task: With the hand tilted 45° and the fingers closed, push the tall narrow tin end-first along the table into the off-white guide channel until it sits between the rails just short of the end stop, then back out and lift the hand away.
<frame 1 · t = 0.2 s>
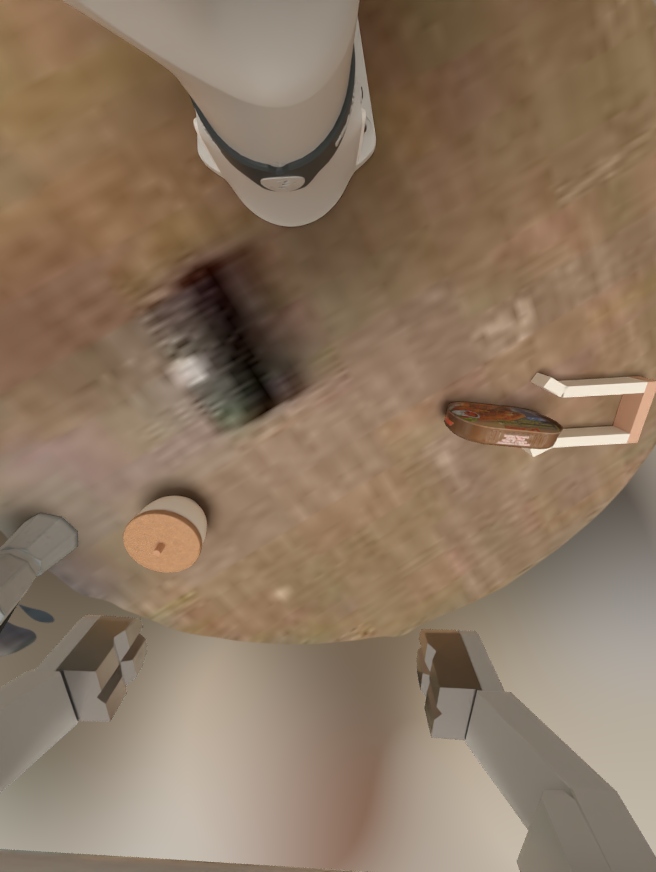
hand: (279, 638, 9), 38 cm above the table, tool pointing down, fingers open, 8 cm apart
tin: (485, 413, 48), on the table
coffee maker: (53, 538, 55), on the table
guide channel: (581, 409, 48), on the table
lidded jar: (183, 510, 54), on the table
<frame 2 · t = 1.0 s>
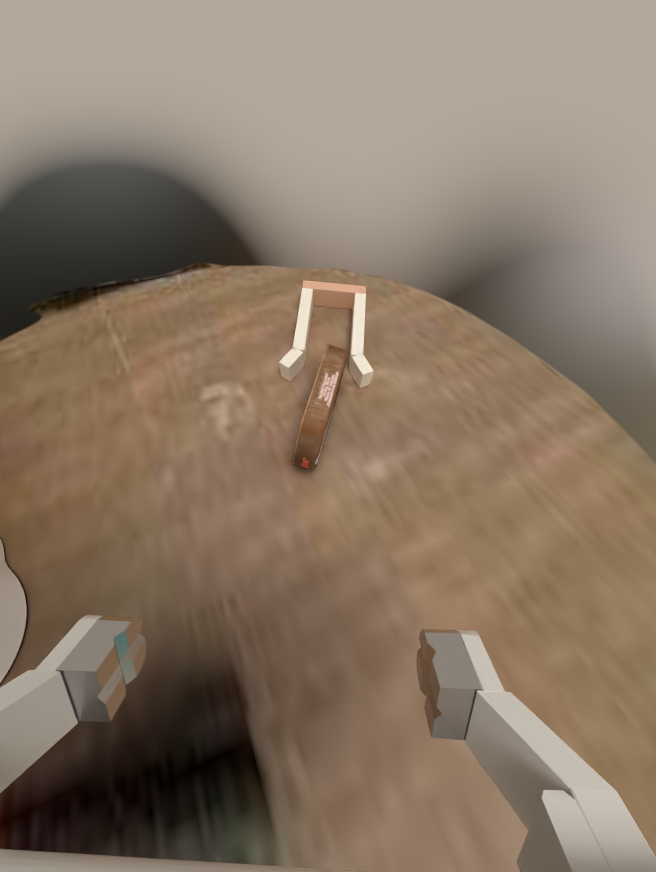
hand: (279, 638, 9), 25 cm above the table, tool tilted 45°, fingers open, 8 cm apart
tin: (321, 423, 41), on the table
guide channel: (330, 335, 46), on the table
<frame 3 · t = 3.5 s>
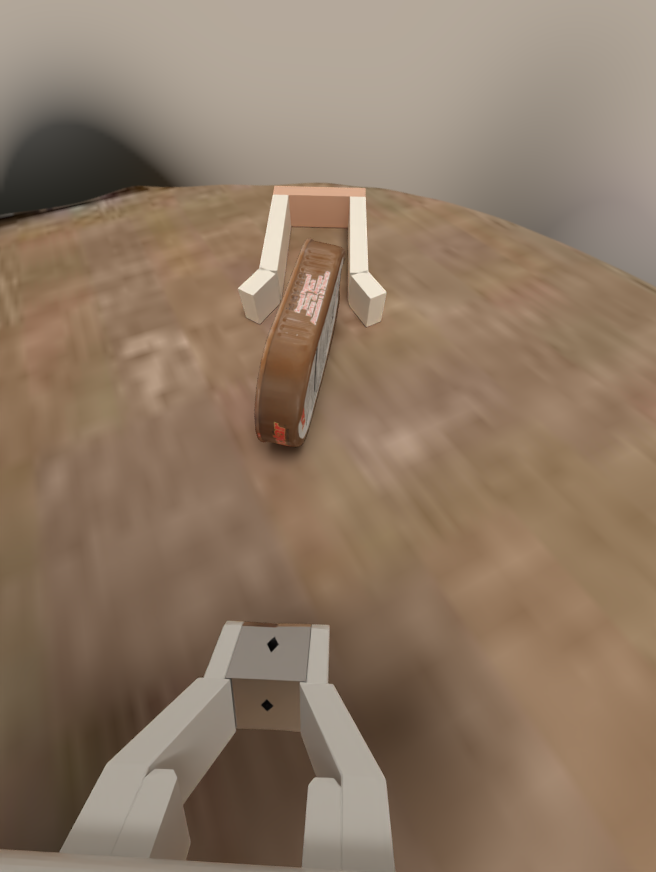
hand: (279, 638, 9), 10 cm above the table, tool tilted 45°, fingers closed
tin: (309, 380, 26), on the table
guide channel: (317, 261, 32), on the table
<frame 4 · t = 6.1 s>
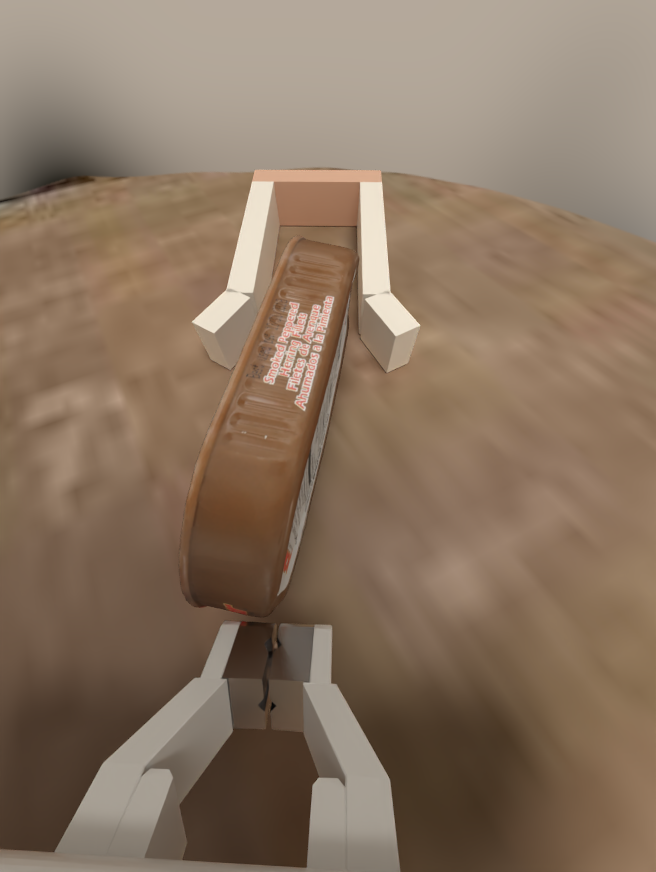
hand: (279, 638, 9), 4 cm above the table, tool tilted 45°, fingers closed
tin: (303, 451, 17), on the table, touching gripper
guide channel: (314, 273, 23), on the table
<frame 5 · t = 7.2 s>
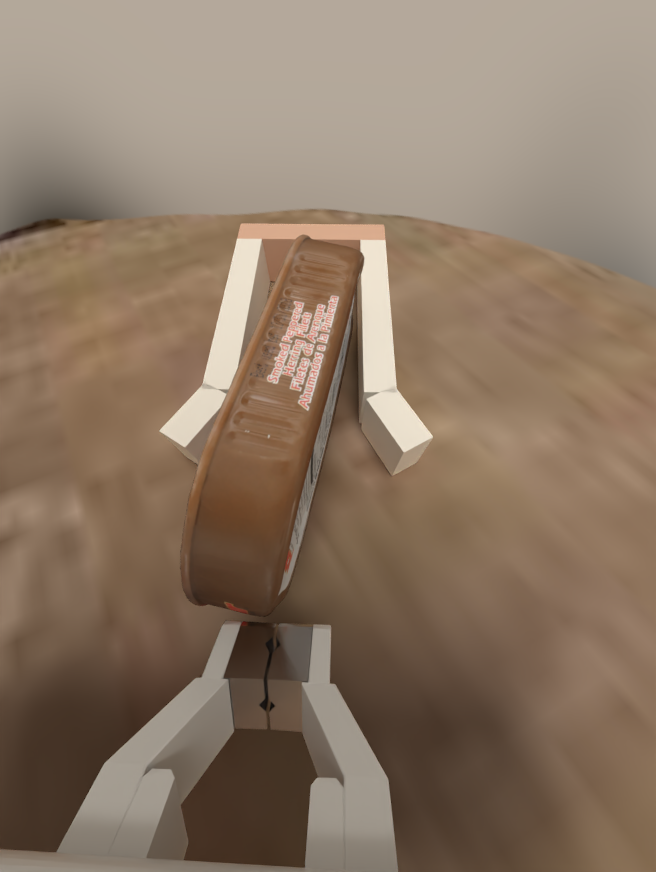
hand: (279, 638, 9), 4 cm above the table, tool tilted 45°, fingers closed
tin: (306, 451, 17), on the table, touching gripper
guide channel: (309, 343, 20), on the table
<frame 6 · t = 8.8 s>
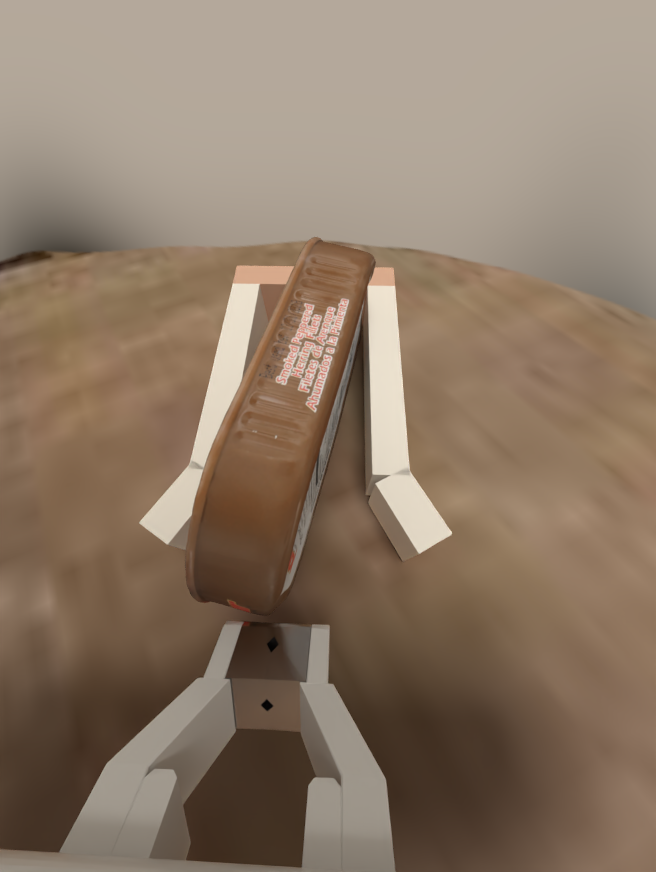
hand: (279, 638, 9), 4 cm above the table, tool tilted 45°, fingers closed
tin: (312, 452, 17), on the table
guide channel: (310, 398, 18), on the table
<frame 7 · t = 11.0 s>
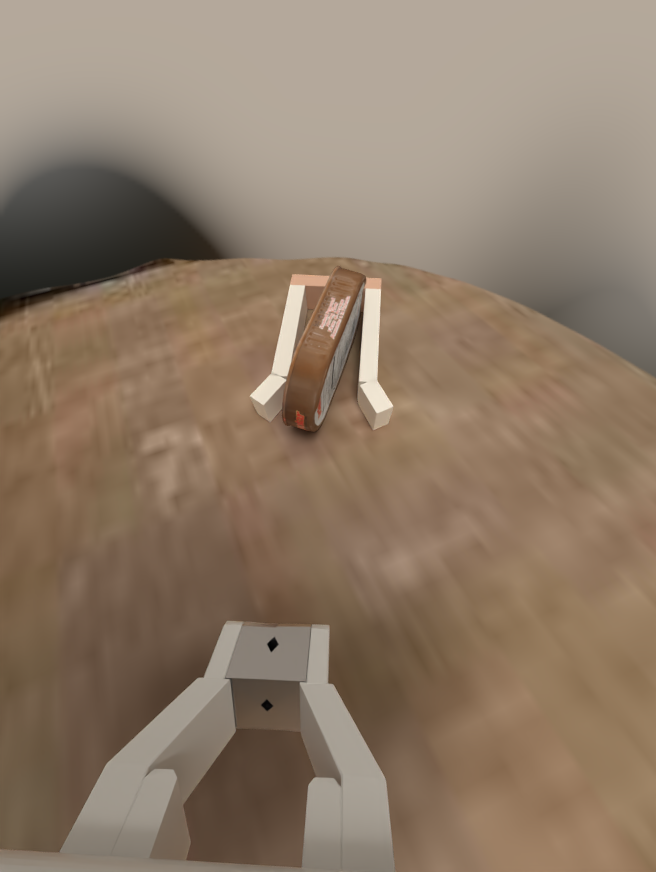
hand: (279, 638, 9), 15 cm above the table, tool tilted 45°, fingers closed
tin: (329, 379, 31), on the table
guide channel: (330, 351, 33), on the table
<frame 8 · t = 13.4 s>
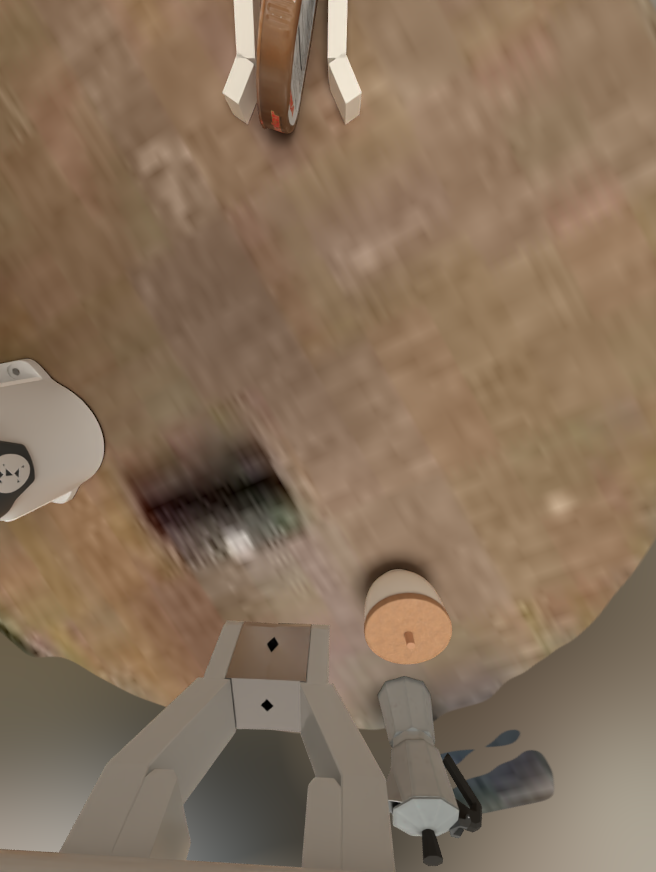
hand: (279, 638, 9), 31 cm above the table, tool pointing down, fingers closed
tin: (298, 52, 29), on the table
coffee maker: (409, 695, 55), on the table
guide channel: (294, 0, 28), on the table
lidded jar: (397, 584, 48), on the table
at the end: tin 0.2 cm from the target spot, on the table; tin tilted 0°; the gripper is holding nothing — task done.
